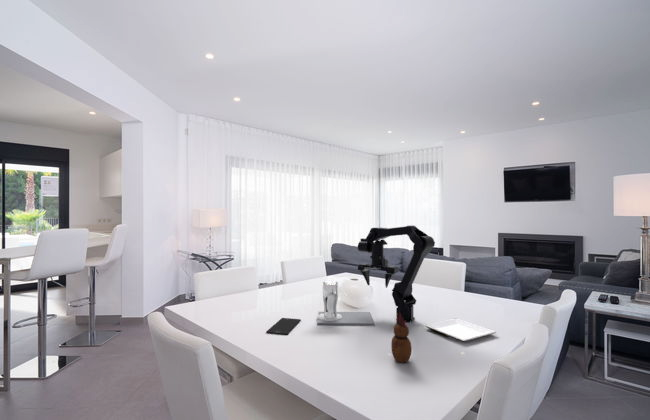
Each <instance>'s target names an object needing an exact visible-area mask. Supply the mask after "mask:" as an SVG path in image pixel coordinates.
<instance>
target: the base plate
mask: <svg viewBox="0 0 650 420" xmlns="http://www.w3.org/2000/svg"><path fill="white" fill-rule="evenodd" d="M336 312H337V317H336V318H333V319H328V318H324V316H323V315H324V311H318V314H317V316H316V317H317V321H316V322H317V323H316V326H376V325H375V321H374V318H373V316H372V314H371V312H370V311H336Z"/></svg>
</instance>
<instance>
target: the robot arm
mask: <svg viewBox="0 0 650 420" xmlns="http://www.w3.org/2000/svg"><path fill="white" fill-rule="evenodd" d="M404 235H406V236H407V237H408V238H409V240H410V241H411V242H412V243H413V250H412V251H413V254H412V257H411V259H410V262H409V263H408V265H407V268H406V270H405V273H404V275H403V277H402V279H401V281H399V282H398V281H397V282H395V283H394V285H393V288H392V289H391V291H392V292H391V296H392V299H393V301H394V302H393V303H394V306H395V307H396V308H395V309H396V310H395V311H396V316H395V317H396V319H395V320H397V311H398V314H399V317H400V314H401V318H403V321H405V323H407V322H408V323H411V322H412V321H414V320H415V319H416V318H415V317H414V305H416V303H417V299H416V298H415V297H414V296H413V294H412V293H413V283H414V281H415V280H416V277H417V276H418V275H417V274H418V273H419V272H420V271H419V270H420V268H421V266H422V264H423V262H424V260H425V258H426V257H427V256H428V255H429V254H430V252H432V250H433V248H434V247H435V244H436V242H435V240H434V238H433V237H432V236H429V235H428V234H427V233H426V232H424V231H422V230H420V229H419V228H418V227H417V226H416V225H412V224H411V225H406V226H399V227H398V226H397V227H390V228H388V227H380V226H379V227H371V228H370V230H369V232H368V235H367V236H366V238H360V241H359V242H358V244H357V250H358V251H359V252H360V253H368V254H370V253H371V255H370V257H369V258H370V261H371V262H370V263H371V264H370V263H367V262H366V263H364V262H361V263H359V264H358V265H357V271H359V272H360V273H361V274H362V276H363V278H364V280H365V283H366V284H367V286H370V281H371V280H370V273H371V270H373V271H381V272H382V271H383V272H385V273H384V277H385V279H384V280H385V283H384V284H385V288H386V289H387V288H388V286H389V283H390V281H391V278H392V277H393V275H395V274H397V273H399V267H398V266H397V265H388V264H389V260H388V259H386V257H385V254H384V246H386V245H388V242H387V241H386V240H385V239H386V238H387V239H388V238H389V237H394V236H395V237H396V236H404Z"/></svg>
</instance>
